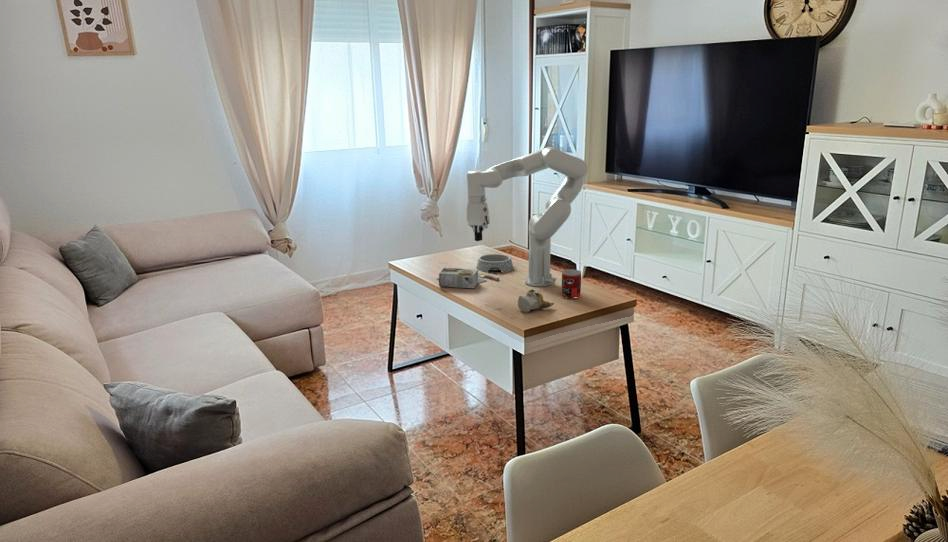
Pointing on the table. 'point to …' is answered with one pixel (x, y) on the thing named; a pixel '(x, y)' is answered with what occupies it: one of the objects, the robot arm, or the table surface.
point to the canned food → (571, 283)
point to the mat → (478, 280)
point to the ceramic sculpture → (532, 301)
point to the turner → (487, 276)
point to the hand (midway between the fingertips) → (478, 240)
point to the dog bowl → (494, 263)
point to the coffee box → (458, 277)
